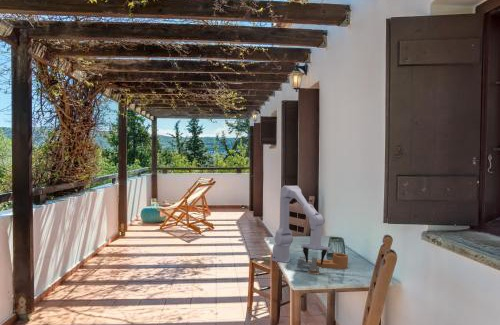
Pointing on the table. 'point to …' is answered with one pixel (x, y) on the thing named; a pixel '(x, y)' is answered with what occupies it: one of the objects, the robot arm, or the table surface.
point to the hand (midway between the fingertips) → (314, 263)
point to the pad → (313, 272)
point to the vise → (304, 262)
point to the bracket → (335, 262)
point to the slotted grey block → (314, 265)
